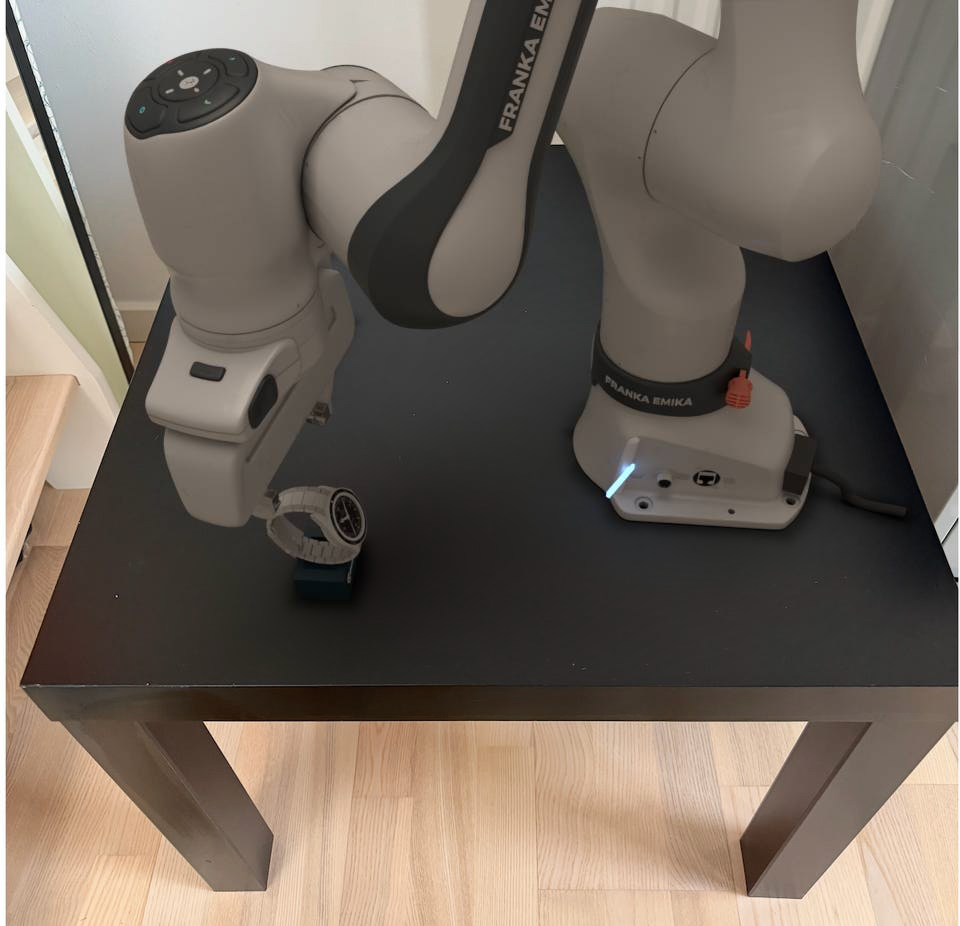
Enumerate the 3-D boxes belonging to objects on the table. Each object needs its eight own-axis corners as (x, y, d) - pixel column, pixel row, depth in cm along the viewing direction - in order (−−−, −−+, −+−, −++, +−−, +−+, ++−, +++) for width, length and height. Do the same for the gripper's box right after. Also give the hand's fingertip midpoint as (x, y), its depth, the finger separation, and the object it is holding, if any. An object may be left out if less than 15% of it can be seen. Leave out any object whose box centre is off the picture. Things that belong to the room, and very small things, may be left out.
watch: (371, 602, 78) (353, 528, 70) (279, 597, 79) (251, 523, 70) (381, 548, 82) (365, 472, 73) (293, 544, 82) (267, 467, 74)
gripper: (280, 220, 64) (312, 362, 75) (127, 425, 52) (191, 560, 63) (363, 235, 63) (383, 377, 74) (226, 448, 51) (274, 582, 61)
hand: (294, 462), depth 68 cm, fingers open, 8 cm apart
